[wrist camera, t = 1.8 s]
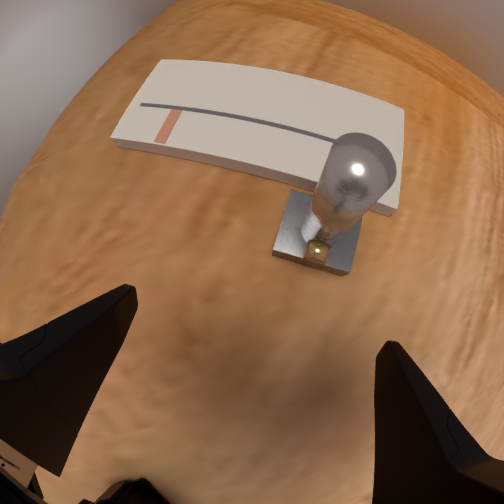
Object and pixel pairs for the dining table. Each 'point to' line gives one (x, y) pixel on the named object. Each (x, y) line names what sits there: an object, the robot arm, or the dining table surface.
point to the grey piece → (336, 205)
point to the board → (255, 121)
